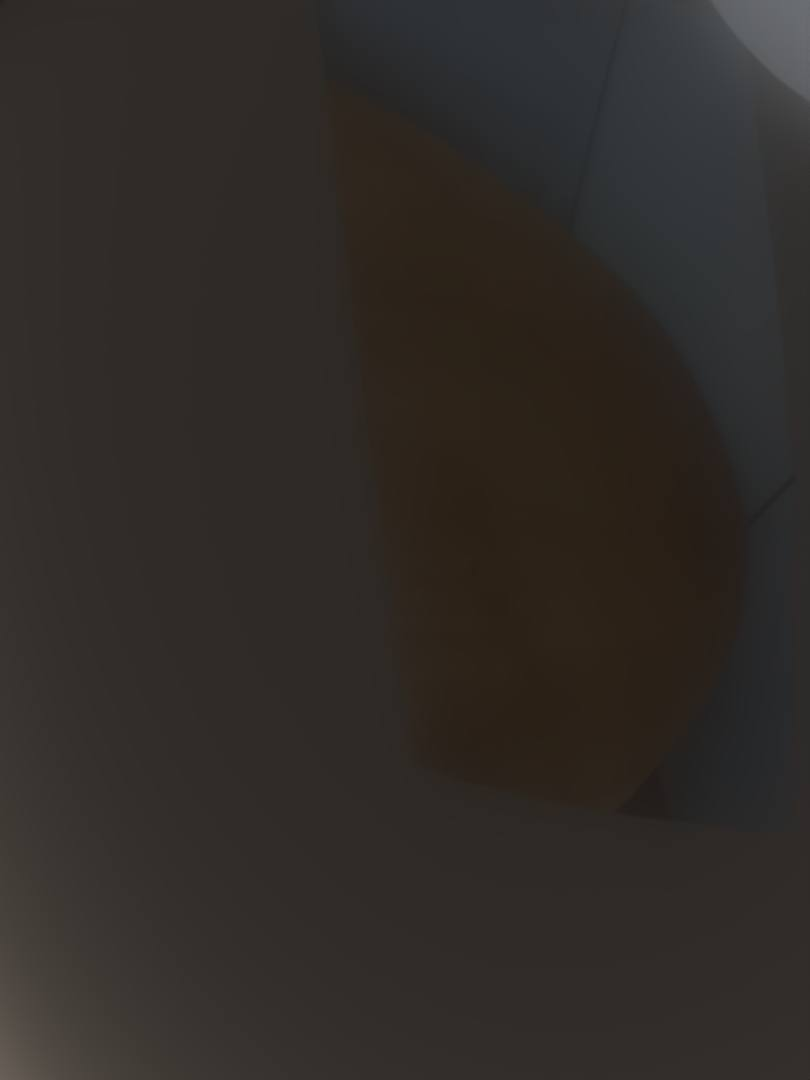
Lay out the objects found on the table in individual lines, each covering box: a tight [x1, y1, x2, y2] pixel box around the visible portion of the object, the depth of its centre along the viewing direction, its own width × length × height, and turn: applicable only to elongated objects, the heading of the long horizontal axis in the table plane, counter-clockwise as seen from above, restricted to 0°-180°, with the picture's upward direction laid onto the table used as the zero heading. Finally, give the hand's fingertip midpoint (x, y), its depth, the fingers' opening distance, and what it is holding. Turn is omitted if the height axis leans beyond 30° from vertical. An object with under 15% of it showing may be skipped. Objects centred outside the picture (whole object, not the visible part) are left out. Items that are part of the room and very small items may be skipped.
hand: (437, 575), depth 34 cm, fingers closed on pink block, 5 cm apart
